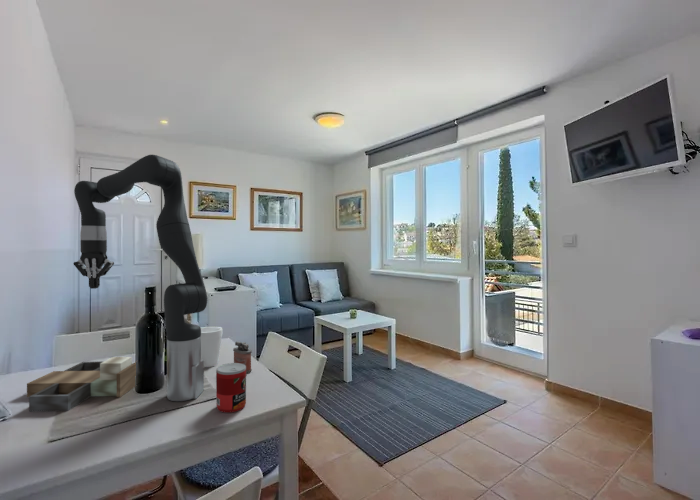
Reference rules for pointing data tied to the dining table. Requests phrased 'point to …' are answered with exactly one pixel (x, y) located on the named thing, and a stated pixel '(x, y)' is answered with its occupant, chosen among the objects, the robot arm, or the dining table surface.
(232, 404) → the canned food
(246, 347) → the lighter
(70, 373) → the box
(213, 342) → the foam cup
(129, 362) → the block
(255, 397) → the dining table surface
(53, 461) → the dining table surface
